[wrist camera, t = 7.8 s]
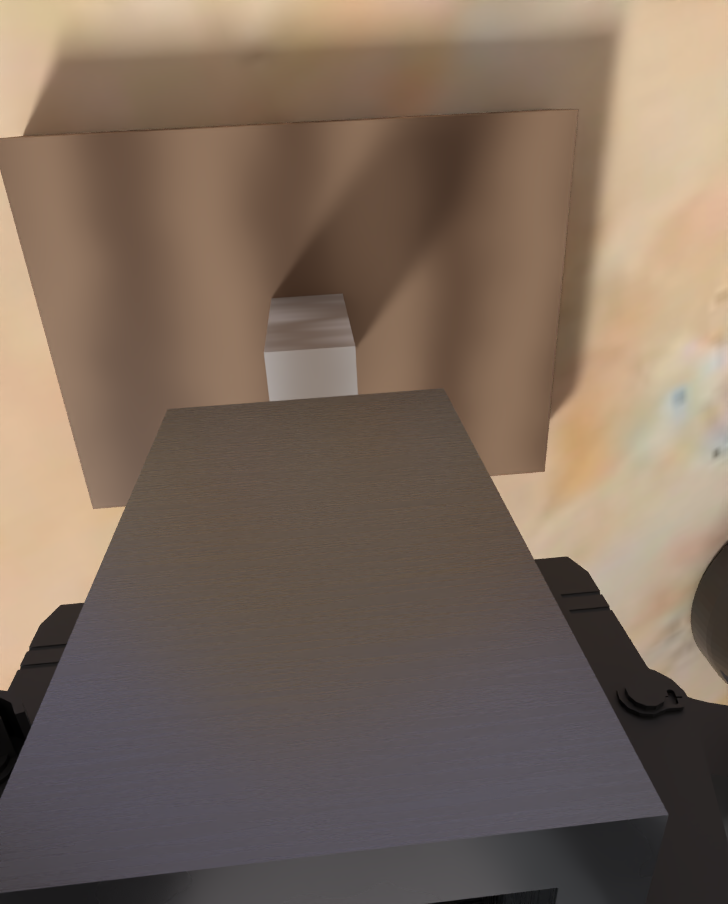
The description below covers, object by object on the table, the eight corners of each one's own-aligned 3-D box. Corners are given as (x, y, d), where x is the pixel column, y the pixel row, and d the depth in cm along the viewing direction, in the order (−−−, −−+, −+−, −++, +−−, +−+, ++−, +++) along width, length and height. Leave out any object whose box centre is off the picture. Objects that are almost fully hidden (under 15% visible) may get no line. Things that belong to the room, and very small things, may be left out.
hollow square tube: (443, 388, 15) (667, 814, 6) (441, 601, 17) (590, 1111, 9) (167, 409, 14) (-42, 897, 5) (209, 623, 17) (116, 1178, 8)
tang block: (552, 109, 28) (668, 110, 19) (526, 444, 36) (601, 555, 27) (22, 136, 27) (-113, 149, 18) (108, 478, 34) (43, 606, 26)
